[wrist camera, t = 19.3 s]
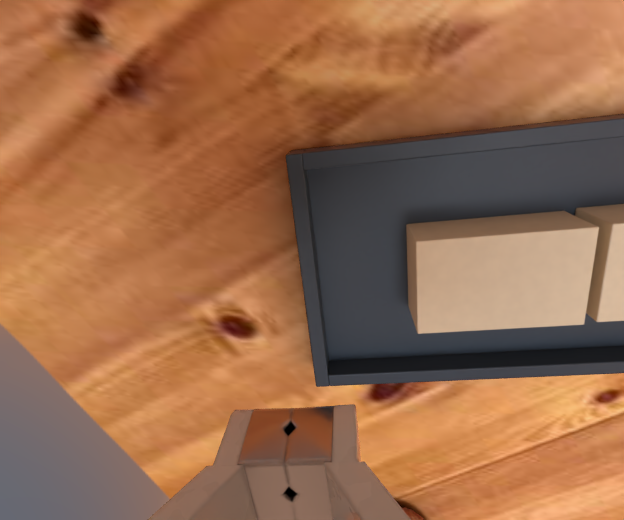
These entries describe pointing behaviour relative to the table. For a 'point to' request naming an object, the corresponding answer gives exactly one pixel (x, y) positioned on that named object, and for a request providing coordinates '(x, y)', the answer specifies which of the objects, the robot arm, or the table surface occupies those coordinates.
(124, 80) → the table surface
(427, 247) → the beige rectangular block
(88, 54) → the table surface
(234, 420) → the robot arm
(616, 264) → the pad
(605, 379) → the table surface
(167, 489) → the table surface
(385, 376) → the backing tray
